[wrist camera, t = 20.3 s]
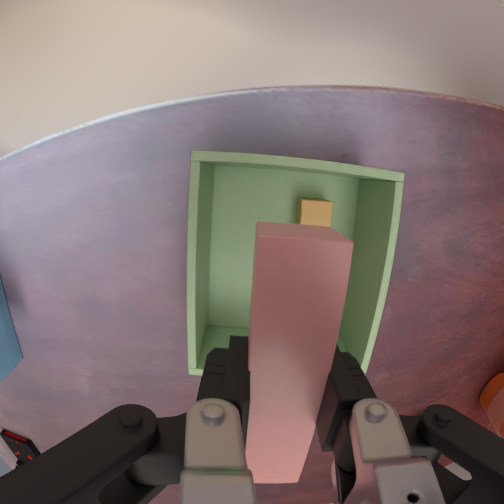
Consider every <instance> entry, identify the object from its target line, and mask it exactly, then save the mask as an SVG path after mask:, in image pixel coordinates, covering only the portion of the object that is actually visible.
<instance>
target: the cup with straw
mask: <svg viewBox="0 0 504 504" xmlns="http://www.w3.org/2000/svg"><path fill="white" fill-rule="evenodd" d="M479 401H480V404H481V405H482V407H483V408H484V410H485V412H486V413H487V417H488V419H489V420H490V422H491V423H492V425H493V427H494V428H495V430H496V432H497V433H498V435H499V436H501V438H503V439H504V372H502V373H499V374H497V375H496V376H495V377H493V378H492V379H491V380H490V381H489V382H488V383H487V385H486V386H485V387H484V389H483V391H482V393H481V395H480V400H479Z"/></svg>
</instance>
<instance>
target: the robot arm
mask: <svg viewBox="0 0 504 504" xmlns="http://www.w3.org/2000/svg"><path fill="white" fill-rule="evenodd" d="M249 408H250V371H248V336H236V335H230V341H229V348H217V347H214V348H213V349H212V350H211V351H210V352H209V353H208V354H207V356H206V361H205V366H204V369H203V374H202V378H201V382H200V387H199V391H198V396H197V400H196V402H195V403H193V404H192V405H191V406H190V407H189V408H188V410H187V412H186V413H184V414H182V415H178V416H174V417H164V418H156V416H155V414H154V413H153V412H152V411H151V410H150V409H148V408H146V407H144V406H141V405H136V404H127V405H121V406H118V407H116V408H114V409H113V410H111V411H110V412H108V413H106V414H105V415H103V416H102V417H100V418H99V419H97V420H96V421H94V422H92V423H91V424H89V425H88V426H86V427H85V428H83V429H81V430H80V431H78V432H77V433H75V434H73V435H72V436H70V437H69V438H67V439H65V440H64V441H62V442H60V443H59V444H57V445H55V446H54V447H52V448H50V449H49V450H47V451H45V452H44V453H42V454H40V455H39V456H37V457H35V458H33V459H32V460H30V461H28V462H26V463H25V464H23V465H21V466H19V467H18V468H16V469H14V470H12V471H10V472H9V473H7V474H5V475H3V476H1V477H0V504H148V503H149V502H150V501H151V500H152V499H153V498H154V497H155V496H157V495H158V494H159V493H160V492H161V491H162V490H163V489H164V488H165V487H166V486H167V485H169V484H179V483H180V502H179V504H258V502H257V497H256V491H255V485H254V480H253V475H252V471H251V469H248V467H247V461H246V455H245V450H246V440H247V429H248V419H249ZM315 424H316V428H317V433H318V437H319V441H320V445H321V450H322V452H324V451H333V454H334V459H333V461H332V463H331V476H332V489H333V504H504V439H503V438H501V437H499V436H498V435H496V434H494V433H493V432H491V431H489V430H488V429H486V428H484V427H483V426H481V425H479V424H478V423H476V422H474V421H473V420H471V419H469V418H468V417H466V416H464V415H463V414H461V413H459V412H458V411H456V410H455V409H453V408H451V407H449V406H446V405H441V404H435V405H431V406H429V407H427V408H426V409H425V410H424V412H423V414H422V416H421V417H417V416H405V415H398V412H397V410H396V409H395V407H394V406H393V405H392V404H390V403H389V402H387V401H384V400H382V399H377V397H376V395H375V393H374V391H373V389H372V387H371V385H370V383H369V381H368V379H367V378H366V376H365V374H364V372H363V370H362V369H361V366H360V365H359V363H358V361H357V359H356V358H355V357H353V356H352V355H351V354H350V353H348V352H341V351H340V349H339V347H338V345H337V344H336V349H335V354H334V358H333V362H332V367H331V371H330V372H329V374H328V378H327V382H326V386H325V390H324V394H323V398H322V401H321V405H320V409H319V412H318V416H317V419H316V423H315ZM442 455H445V456H446V457H448V458H449V459H451V460H452V461H454V462H455V463H457V464H458V465H460V466H461V467H463V468H464V469H466V470H467V471H469V472H470V473H471V476H472V479H471V480H467V481H465V480H462V479H461V478H459V477H458V476H456V475H455V474H453V473H452V472H450V471H449V470H447V469H446V468H445V467H443V466H442V465H440V464H439V463H438V461H439V460H440V458H441V457H442Z"/></svg>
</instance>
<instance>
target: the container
mask: <svg viewBox="0 0 504 504" xmlns="http://www.w3.org/2000/svg"><path fill="white" fill-rule="evenodd" d="M22 358H23V356H22V352H21V349H20V346H19V343H18V340H17V336H16V333H15V330H14V327H13V323H12V320H11V316H10V313H9V309H8V305H7V301H6V298H5V294H4V290H3V286H2V282H1V278H0V381H1V380H2V379H3V378H5V377H6V376H7V375H8V374H9V373H10V372H11V371H12V370H13V369H14V368H15V367H16V366H17V364H18V363H19V362H20V361H21V359H22Z"/></svg>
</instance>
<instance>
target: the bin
mask: <svg viewBox="0 0 504 504" xmlns="http://www.w3.org/2000/svg"><path fill="white" fill-rule="evenodd" d="M403 182H404V173H400V172H395V171H390V170H384V169H378V168H372V167H366V166H360V165H353V164H346V163H339V162H332V161H324V160H316V159H307V158H298V157H288V156H277V155H265V154H252V153H235V152H214V151H191V164H190V181H189V201H188V228H187V347H188V367H189V368H188V373H189V374H192V375H202V374H203V369H204V366H205V361H206V356H207V354H208V353H209V352H210V351H211V350H212V349H213V348H214V347H217V348H229V341H230V335H236V336H248V332H249V318H250V304H251V289H252V275H253V261H254V246H255V232H256V222H257V221H262V222H276V223H290V224H296V209H297V198H298V197H302V198H316V199H326V200H329V201H332V202H333V206H332V219H331V228H333V229H334V230H336V231H337V232H339V233H341V234H342V235H344V236H345V237H347V238H348V239H350V240H351V241H353V242H354V248H353V255H352V262H351V268H350V275H349V281H348V287H347V293H346V299H345V304H344V310H343V315H342V320H341V325H340V330H339V335H338V340H337V345H338V347H339V349H340V351H341V352H348V353H350V354H351V355H352V356H353V357H355V358H356V359H357V361H358V363H359V365H360V366H361V369H362V370H363V372H364V374H366V371H367V368H368V364H369V361H370V357H371V354H372V351H373V347H374V343H375V340H376V336H377V332H378V328H379V324H380V320H381V316H382V312H383V308H384V303H385V299H386V294H387V290H388V285H389V280H390V275H391V269H392V264H393V258H394V253H395V246H396V240H397V233H398V226H399V219H400V211H401V202H402V193H403Z"/></svg>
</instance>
